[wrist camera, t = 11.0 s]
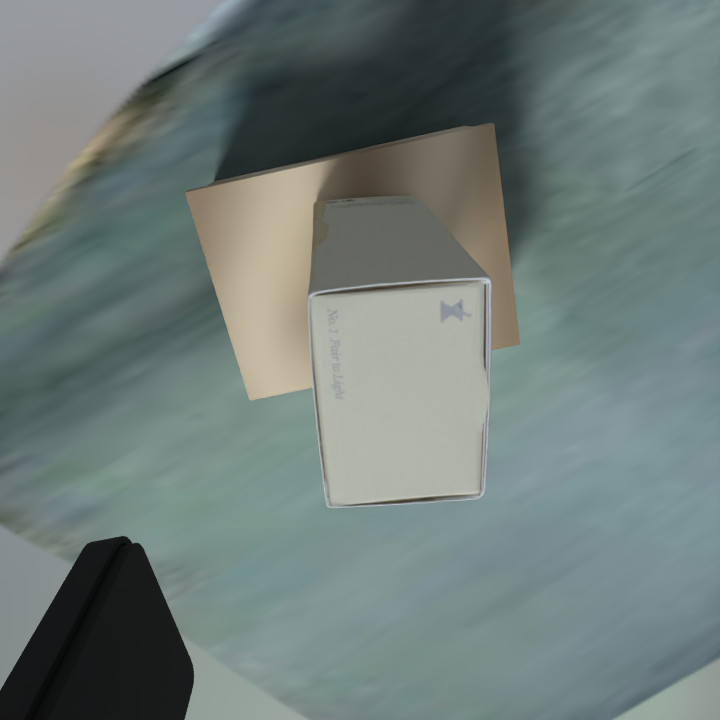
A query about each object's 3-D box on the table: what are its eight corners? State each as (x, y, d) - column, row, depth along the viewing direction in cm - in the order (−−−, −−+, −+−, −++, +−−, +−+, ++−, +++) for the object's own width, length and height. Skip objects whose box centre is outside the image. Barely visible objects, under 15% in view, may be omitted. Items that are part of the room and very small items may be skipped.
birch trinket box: (468, 120, 29) (494, 123, 24) (493, 309, 32) (519, 344, 28) (208, 178, 29) (185, 192, 25) (261, 358, 33) (249, 400, 28)
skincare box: (312, 199, 25) (296, 278, 14) (422, 193, 25) (496, 266, 14) (323, 345, 27) (317, 514, 16) (424, 339, 28) (488, 503, 16)
